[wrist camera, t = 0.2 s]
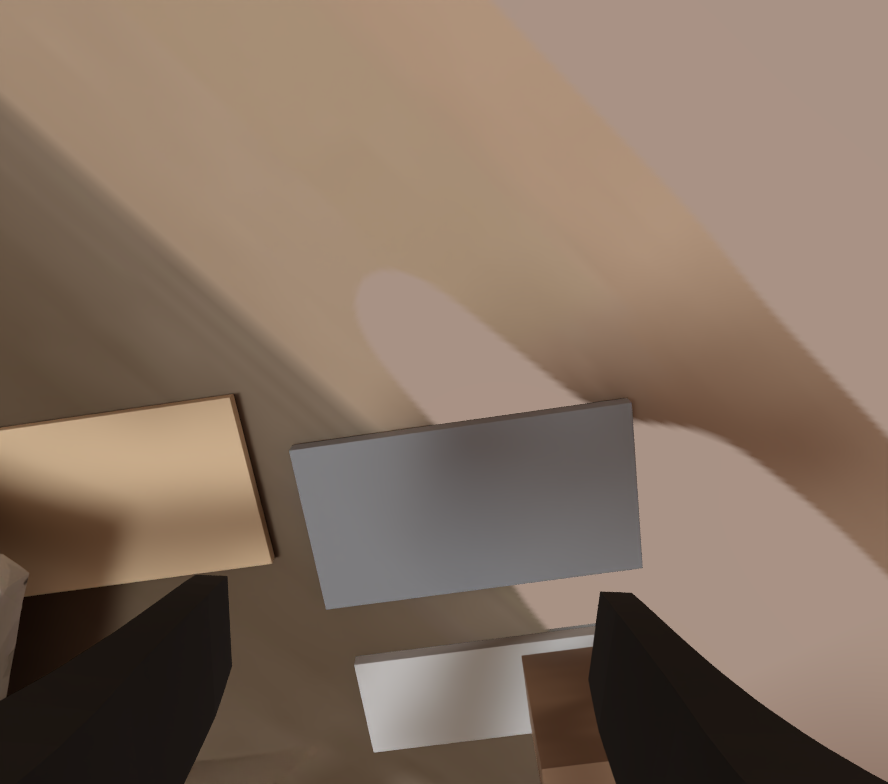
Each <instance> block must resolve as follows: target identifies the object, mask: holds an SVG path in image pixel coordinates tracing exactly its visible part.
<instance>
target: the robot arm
mask: <svg viewBox="0 0 888 784" xmlns="http://www.w3.org/2000/svg"><path fill="white" fill-rule="evenodd" d="M231 667H232V658H231V638H230V619H229V599H228V580H227V576H211V575H195V576H193V577H192V578H190V579H188V580H187V581H185V582H184V583H183V584H181V585H180V586H178V587H177V588H175V589H174V590H173V591H171V592H170V593H169V594H167V595H166V596H164V597H163V598H162V599H160V600H159V601H158V602H156V603H155V604H153V605H152V606H151V607H149V608H148V609H146V610H145V611H144V612H142V613H141V614H139V615H138V616H137V617H135V618H134V619H132V620H131V621H129V622H128V623H127V624H125V625H124V626H122V627H121V628H120V629H118V630H117V631H115V632H114V633H112V634H111V635H109V636H108V637H106V638H105V639H103V640H102V641H100V642H98V643H97V644H95V645H94V646H92V647H91V648H89V649H88V650H86V651H85V652H83V653H81V654H80V655H78V656H77V657H75V658H74V659H72V660H71V661H69V662H68V663H66V664H64V665H63V666H61V667H59V668H58V669H56V670H54V671H53V672H51V673H49V674H48V675H46V676H44V677H42V678H41V679H39V680H37V681H36V682H34V683H32V684H30V685H28V686H26V687H25V688H23V689H21V690H19V691H17V692H15V693H13V694H12V695H10V696H8V697H6V698H4V699H2V700H0V784H184V783H185V781H186V779H187V776H188V774H189V772H190V770H191V768H192V766H193V764H194V762H195V760H196V757H197V755H198V753H199V751H200V749H201V747H202V745H203V742H204V740H205V738H206V736H207V734H208V732H209V730H210V727H211V725H212V723H213V721H214V719H215V716H216V713H217V710H218V707H219V704H220V702H221V699H222V696H223V693H224V689H225V686H226V683H227V680H228V677H229V674H230V670H231ZM588 682H589V687H590V692H591V697H592V702H593V708H594V712H595V717H596V722H597V726H598V731H599V734H600V737H601V740H602V743H603V747H604V750H605V753H606V756H607V759H608V762H609V765H610V768H611V771H612V774H613V777H614V780H615V783H616V784H888V782H886V781H884V780H882V779H880V778H879V777H877V776H875V775H873V774H871V773H869V772H867V771H866V770H864V769H862V768H861V767H859V766H857V765H856V764H854V763H852V762H850V761H849V760H847V759H845V758H844V757H841V756H840V755H839V754H837V753H835V752H833V751H832V750H830V749H828V748H827V747H825V746H823V745H822V744H820V743H819V742H817V741H815V740H814V739H812V738H811V737H809V736H808V735H806V734H804V733H803V732H801V731H800V730H799V729H797V728H796V727H794V726H793V725H791V724H790V723H788V722H787V721H785V720H784V719H782V718H781V717H779V716H778V715H777V714H775V713H774V712H772V711H771V710H769V709H768V708H767V707H765V706H764V705H762V704H761V703H760V702H758V701H757V700H755V699H754V698H753V697H752V696H750V695H749V694H748V693H747V692H745V691H744V690H743V689H742V688H740V687H739V686H738V685H736V684H735V683H734V682H733V681H731V680H730V679H729V678H728V677H726V676H725V675H724V674H722V673H721V672H720V671H719V670H718V669H717V668H715V667H714V666H713V665H712V664H710V663H709V662H708V661H707V660H706V659H705V658H704V657H702V656H701V655H700V654H699V653H698V652H697V651H695V650H694V649H693V648H692V647H691V646H690V645H689V644H688V643H686V642H685V641H684V640H683V639H682V638H681V637H680V636H679V635H677V634H676V633H675V632H674V631H673V630H672V629H671V628H670V627H669V626H668V625H667V624H665V623H664V622H663V621H662V620H661V619H660V618H659V617H658V616H657V615H656V614H655V613H654V612H653V611H651V610H650V609H649V608H648V607H647V606H646V605H645V604H644V603H643V602H642V601H640V600H639V599H638V598H637V597H636V596H635V595H633V594H632V593H622V592H600V597H599V604H598V611H597V619H596V626H595V633H594V641H593V648H592V655H591V663H590V670H589V677H588Z"/></svg>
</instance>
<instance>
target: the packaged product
mask: <svg viewBox="0 0 888 784" xmlns="http://www.w3.org/2000/svg"><path fill="white" fill-rule="evenodd" d="M28 577H29V572H27V571H26V570H25V569H24V568H22V567H21V566H20V565H18V564H17V563H15V562H14V561H12V560H11V559H9V558H8V557H6V556H5V555H3V554H0V700H2V699H4V698H6V696H7V691H8V684H9V677H10V671H11V666H12V661H13V655H14V650H15V645H16V639H17V633H18V626H19V620H20V613H21V609H22V602H23V598H24V594H25V589H26V585H27V581H28Z"/></svg>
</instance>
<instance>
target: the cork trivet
mask: <svg viewBox="0 0 888 784" xmlns="http://www.w3.org/2000/svg"><path fill="white" fill-rule="evenodd" d="M0 554H3V555H5V556H6V557H8V558H9V559H11V560H12V561H14V562H15V563H17V564H18V565H20V566H21V567H22V568H24V569H25V570H26V571H27V572H29V577H28V581H27V585H26V589H25V594H24V597H27V596H34V595H42V594H49V593H56V592H64V591H71V590H79V589H86V588H94V587H101V586H109V585H116V584H124V583H131V582H138V581H146V580H153V579H161V578H168V577H176V576H183V575H191V574H198V573H206V572H213V571H220V570H228V569H235V568H243V567H250V566H258V565H265V564H272V562H273V560H274V558H275V556H274V552H273V548H272V544H271V540H270V536H269V532H268V529H267V525H266V521H265V517H264V513H263V509H262V505H261V501H260V497H259V493H258V489H257V485H256V481H255V477H254V473H253V469H252V465H251V461H250V458H249V454H248V450H247V446H246V442H245V438H244V434H243V430H242V426H241V422H240V418H239V414H238V410H237V406H236V402H235V398H234V394H229V395H222V396H215V397H208V398H202V399H195V400H188V401H181V402H174V403H167V404H160V405H153V406H146V407H139V408H132V409H125V410H118V411H111V412H105V413H98V414H91V415H84V416H77V417H70V418H63V419H56V420H49V421H42V422H35V423H28V424H21V425H15V426H8V427H1V428H0Z"/></svg>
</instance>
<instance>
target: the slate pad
mask: <svg viewBox="0 0 888 784" xmlns="http://www.w3.org/2000/svg"><path fill="white" fill-rule="evenodd" d="M289 452H290V457H291V461H292V465H293V469H294V474H295V478H296V482H297V487H298V491H299V495H300V499H301V504H302V508H303V512H304V517H305V521H306V525H307V529H308V534H309V538H310V542H311V547H312V551H313V555H314V559H315V564H316V568H317V572H318V577H319V581H320V585H321V589H322V594H323V598H324V602H325V607H326V609H334V608H342V607H349V606H357V605H365V604H372V603H380V602H387V601H395V600H403V599H410V598H418V597H426V596H433V595H441V594H449V593H456V592H464V591H471V590H479V589H487V588H494V587H502V586H510V585H517V584H525V583H532V582H540V581H547V580H555V579H563V578H570V577H578V576H586V575H593V574H601V573H609V572H616V571H624V570H632V569H639V568H643V567H642V553H641V538H640V522H639V507H638V491H637V476H636V461H635V447H634V432H633V415H632V402H631V401H630V400H629V399H628V398H623V399H616V400H609V401H602V402H594V403H587V404H580V405H573V406H566V407H559V408H553V409H545V410H538V411H531V412H524V413H516V414H509V415H502V416H495V417H489V418H481V419H474V420H467V421H460V422H453V423H445V424H438V425H431V426H424V427H417V428H410V429H403V430H396V431H389V432H382V433H374V434H367V435H360V436H353V437H346V438H339V439H332V440H325V441H318V442H311V443H303V444H296V445H292V447H291V449H290V450H289Z"/></svg>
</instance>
